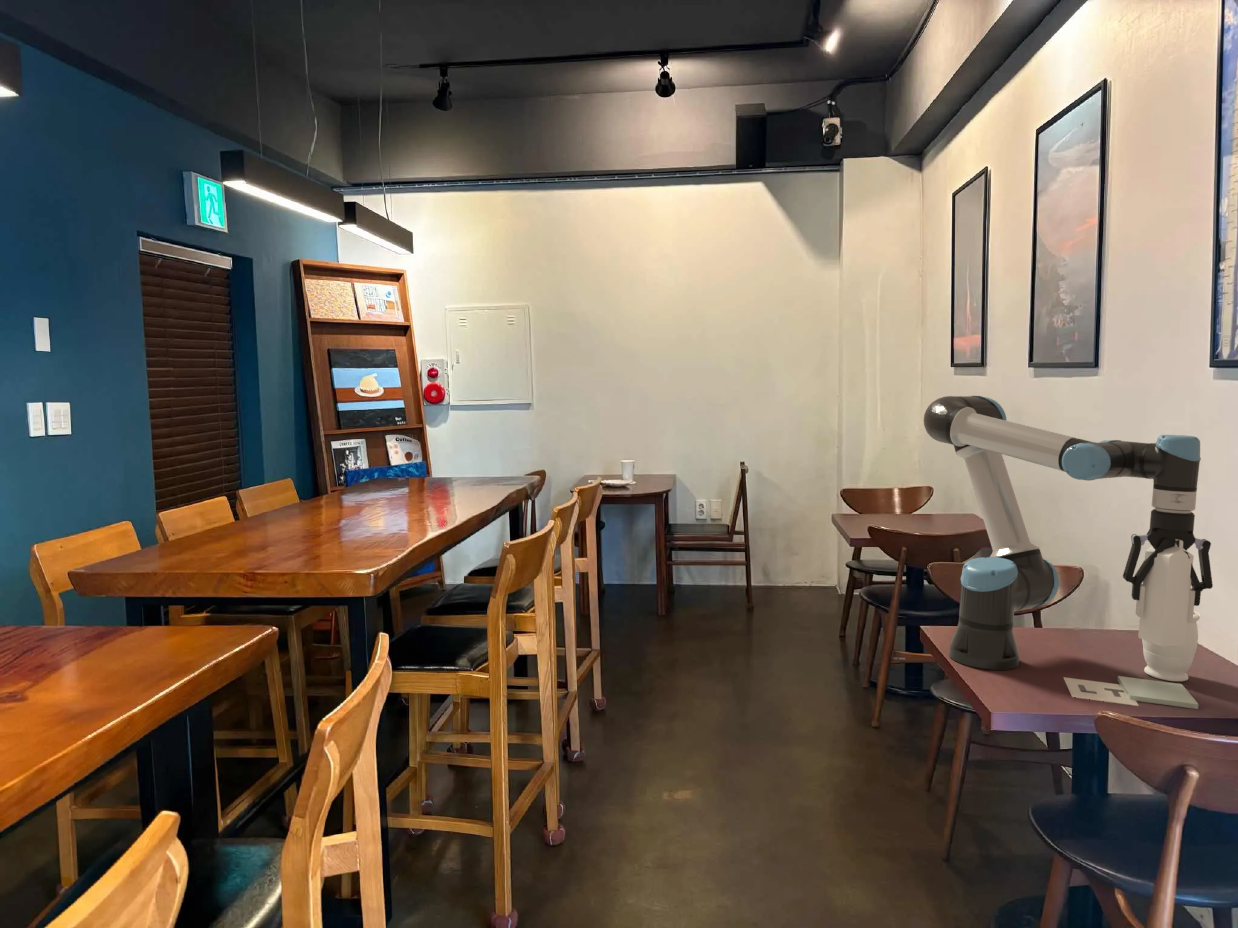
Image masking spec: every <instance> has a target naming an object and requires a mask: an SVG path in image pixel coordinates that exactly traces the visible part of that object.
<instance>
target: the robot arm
mask: <svg viewBox="0 0 1238 928" xmlns="http://www.w3.org/2000/svg"><path fill="white" fill-rule="evenodd" d="M923 426H924V429H925V432H926V433H927V434H928V435H929V437H931V438H932V439H933V440H935V441H937V442H939V443H944V444H949V445H952V446H953V447H954V451H955V454H956V455H957V456H958V457H959V458H962V459H963V460H964V461H965V465H966V468H967V472H968V475H969V478H970V481H971V485H972V487H973V491H974V494H975V497H976V501H977V503H978V507H979V509H980V513H981V517H982V520H983V523H984V526H985V530H986V532H987V536H988V539H989V543H990V545H991V549H992V553H991V554H990V555H989V556H987V557H983V556H982V557H976V558H972V559H969V560H968V561H966V562H965V563H964V564H963V566H962V571H961V575H960V595H959V596H960V597H959V610H958V611H959V613H958V616H959V617H958V624H957V626H956V630H955V632H954V633H953V636H952V638H951V640H950V643H949V646H948V656H949V657H950V659H952V660H953V661H955V662H957V663H959V664H962V665H965V666H967V667H973V668H976V669H982V670H991V671H1007V670H1012V669H1016V668H1017V667H1019V665H1020V651H1019V649H1018V645H1017V642H1016V637H1015V634H1014V617H1015V613H1016V612H1019V611H1025V610H1029V609H1030V610H1033V609H1037V608H1040V607H1041V606H1044V605H1047V604H1048V603H1049V602H1051V601H1052V600H1053V599H1054V598H1055V597H1056V595H1057V593H1058V590H1059V587H1060V577H1059V573H1058V571H1057V569H1056V567H1055V566H1054V565H1053V563H1051V562H1049V560H1047V559H1045V558H1043V555H1042V552H1041V549H1040V546H1037V545H1035V544H1033V543H1032V541H1030V537H1029V535H1028V531H1027V529H1026V525H1025V522H1024V519H1023V515H1022V514H1021V510H1020V506H1019V504H1018V500H1017V497H1016V494H1015V492H1014V488H1013V485H1012V482H1011V479H1010V475H1009V473H1008V469H1007V467H1006V463H1005V459H1004V457H1003V455H1004V456H1008V457H1011V458H1015V459H1018V460H1023V461H1025V462H1030V463H1033V464H1036V465H1039V466H1043V467H1047V468H1051V469H1054V470H1058V471H1062V472H1065V473H1066V474H1067V475H1068V476H1069V477H1071V478H1072V479H1074V480H1075V479H1076V480H1081V481H1094V480H1102V479H1103V480H1104V479H1111V478H1124V477H1125V478H1126V477H1127V478H1128V477H1129V478H1139V479H1146V480H1147V479H1149V480H1152V481H1153V486H1152V487H1153V488H1152V495H1151V497H1152V498H1151V507H1152V510H1151V511H1150V517H1149V518H1150V519H1149V520H1150V521H1149V529H1148V531H1147V533H1146V534H1136V533H1133V534H1131V537H1130V538H1131V546H1130V551H1129V554H1128V558H1127V561H1126V564H1125V566H1124V571H1123V574H1122V578H1123V579H1124V580H1125V582H1128V583H1131V584H1132V585H1131V587H1132V588H1131V598H1132V599H1133V601H1136V605H1135V615H1136V616H1137V617H1138V618H1140V617H1143V608H1144V596H1145V586H1144V585H1143V580H1144V579H1145V577H1146V576H1147V574H1148V573H1149V571H1150V570H1151V568H1152V566H1153V565H1154V558H1155V557H1157V554H1158V553H1161V552H1163V551H1164V550H1165V549H1168V548H1171V547H1174V546H1175V544H1177V546H1178V547H1179V542H1180V540H1182V541H1183V549H1185V550H1186V551H1188V550H1189V549H1190V548H1191V547H1192V546H1193V545H1195V548H1196V549H1197V553H1198V555H1197V556H1198V562H1199V569H1200V570H1199V571H1200V576H1201V577H1200V578H1201V581H1200V580H1199V578H1198V576H1197V572H1196V571H1195V568H1194V564H1193V565H1192V563H1191V573H1190V578H1191V590H1190V601H1189V612H1188V622H1193V611H1194V612H1195V609H1194V608H1195V607H1196V606H1197V607H1198V606H1200V605H1201V604H1200V603H1201V596H1202V595H1201V594H1202V592H1203V591H1204V590H1207V589H1208V590H1209V589H1212V588H1213V585H1214V584H1213V580H1212V578H1213V577H1212V570H1211V562H1210V556H1209V555H1210V554H1209V552H1210V549H1211V546H1212V543H1211V542H1210V540H1208V539H1206V538H1202V539H1201V538H1198V537H1197V538H1196V536H1195V534H1194V528H1195V516H1196V515H1195V514H1194V512H1193V511H1195V510H1196V504H1197V502H1196V501H1197V491H1198V481H1199V469H1200V463H1201V462H1200V461H1201V460H1202V459H1201V440H1200V439H1199V438H1198V437H1197V436H1194V435H1185V434H1181V435H1180V434H1160V435H1159V436H1157V438H1156V442H1153V443H1151V442H1149V443H1148V442H1137V441H1125V440H1118V439H1116V440H1115V439H1111V440H1109V439H1108V440H1106V439H1105V440H1101V441H1100V442H1094V441H1090V440H1086V439H1083V438H1077V437H1074V436H1070V435H1065V434H1062V433H1059V432H1058V433H1057V432H1053V431H1050V430H1045V429H1042V428H1036V427H1032V426H1029V425H1025V424H1021V423H1018V422H1017V423H1016V422H1013V421H1009V420H1008V419H1007V416H1006V412H1005V410H1004V408H1003V407H1002V405H1001V404H1000V403H998V401H997V400H994V399H993V398H990V397H985V396H983V395H982V396H981V395H970V396H969V395H968V396H963V395H962V396H961V395H960V396H958V395H957V396H955V395H954V396H953V395H949V396H948V395H947V396H943V397H939V398H937V399H935V400H934V401H932V402H931V403H930V404H929V405H928V406H927V408H926V410H925V412H924V415H923ZM1153 508H1154V509H1153ZM1175 539H1178V540H1177V541H1176V540H1175ZM1146 541H1148V542H1149V544H1150V545H1151V547H1153V548H1154V549H1155V551H1154V552H1153V553H1152V554H1151V555H1150V556H1149V557H1148V558H1147V559H1146V560H1145V559H1144V560H1143V562H1142V563H1141V565H1140V566H1139V568H1138V570H1137V571H1136V573H1135V570H1136V567H1137V564H1138V559H1139V557H1140V554H1141V551H1142V550H1141V549H1142V546H1144V545H1145V543H1146ZM1183 551H1184V550H1183ZM1186 551H1184V552H1185V553H1186V554H1187V555H1188V552H1189V551H1188V552H1186ZM1188 558H1189V559H1190V557H1189V555H1188ZM1134 573H1135V574H1134Z"/></svg>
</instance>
